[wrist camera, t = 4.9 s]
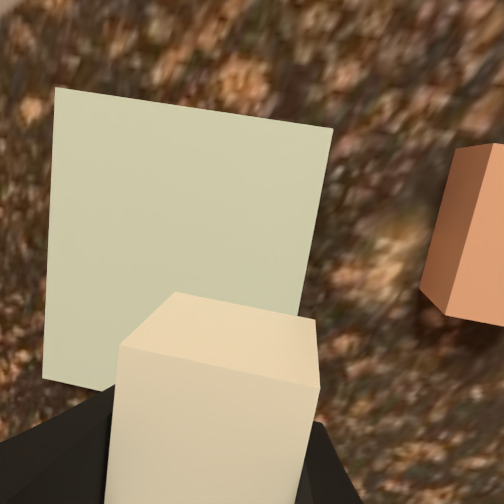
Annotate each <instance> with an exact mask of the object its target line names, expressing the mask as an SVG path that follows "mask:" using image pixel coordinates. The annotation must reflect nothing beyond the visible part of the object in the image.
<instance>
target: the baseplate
mask: <svg viewBox="0 0 504 504" xmlns="http://www.w3.org/2000/svg"><path fill="white" fill-rule="evenodd" d="M332 133H333V129H331V128H324V127H318V126H311V125H304V124H298V123H291V122H284V121H277V120H271V119H264V118H257V117H251V116H244V115H237V114H231V113H224V112H217V111H211V110H204V109H197V108H190V107H184V106H177V105H170V104H164V103H157V102H150V101H144V100H137V99H130V98H124V97H117V96H110V95H103V94H97V93H90V92H83V91H77V90H70V89H63V88H57V87H55V107H54V130H53V152H52V174H51V197H50V219H49V241H48V263H47V286H46V308H45V330H44V352H43V375H42V378H45V379H50V380H54V381H59V382H63V383H67V384H72V385H76V386H81V387H85V388H89V389H94V390H98V391H104V390H105V389H107V388H109V387H111V386H113V385H114V384H116V374H117V363H118V352H119V345H120V344H121V343H122V342H123V341H124V340H125V339H126V338H127V337H128V336H129V335H130V334H131V333H132V332H133V331H134V330H135V329H136V328H138V327H139V326H140V325H141V324H142V323H143V322H144V321H145V320H146V319H147V318H148V317H149V316H150V315H151V314H152V313H153V312H154V311H155V310H156V309H157V308H159V307H160V306H161V305H162V304H163V303H164V302H165V301H166V300H167V299H168V298H169V297H170V296H171V295H172V294H173V293H174V292H179V293H184V294H189V295H194V296H199V297H204V298H209V299H214V300H219V301H224V302H229V303H234V304H239V305H244V306H249V307H254V308H259V309H264V310H269V311H274V312H279V313H284V314H289V315H293V316H297V314H298V309H299V304H300V299H301V293H302V288H303V283H304V278H305V273H306V268H307V262H308V257H309V252H310V247H311V242H312V237H313V232H314V226H315V221H316V216H317V211H318V206H319V201H320V195H321V190H322V185H323V180H324V175H325V170H326V164H327V159H328V154H329V149H330V144H331V139H332Z"/></svg>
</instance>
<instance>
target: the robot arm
mask: <svg viewBox="0 0 504 504" xmlns="http://www.w3.org/2000/svg"><path fill="white" fill-rule="evenodd" d="M114 395H115V384H114V385H113V386H111V387H109V388H107V389H105V390H104V391H102V392H100V393H98V394H96V395H95V396H93V397H91V398H89V399H87V400H86V401H84V402H82V403H80V404H78V405H76V406H74V407H73V408H71V409H69V410H67V411H65V412H63V413H61V414H60V415H58V416H55V417H53V418H51V419H49V420H47V421H45V422H43V423H41V424H39V425H37V426H35V427H33V428H31V429H29V430H27V431H25V432H23V433H21V434H18V435H16V436H14V437H12V438H10V439H7V440H5V441H3V442H0V504H104V501H105V490H106V479H107V469H108V458H109V448H110V437H111V426H112V416H113V405H114ZM294 504H363V502H362V500H361V499H360V497H359V495H358V493H357V491H356V490H355V488H354V486H353V484H352V482H351V480H350V479H349V477H348V475H347V473H346V471H345V469H344V467H343V465H342V463H341V461H340V459H339V457H338V455H337V453H336V451H335V449H334V447H333V445H332V442H331V440H330V438H329V436H328V433H327V431H326V429H325V427H324V425H323V424H322V423H320V422H315V421H313V423H312V427H311V432H310V436H309V441H308V445H307V449H306V454H305V458H304V463H303V467H302V472H301V476H300V480H299V485H298V489H297V494H296V498H295V503H294Z"/></svg>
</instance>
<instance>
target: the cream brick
mask: <svg viewBox="0 0 504 504" xmlns="http://www.w3.org/2000/svg"><path fill="white" fill-rule="evenodd" d="M319 392H320V379H319V366H318V353H317V340H316V327H315V320H313V319H308V318H303V317H298V316H293V315H289V314H284V313H279V312H274V311H269V310H264V309H259V308H254V307H249V306H244V305H239V304H234V303H229V302H224V301H219V300H214V299H209V298H204V297H199V296H194V295H189V294H184V293H179V292H174V293H173V294H172V295H171V296H170V297H169V298H168V299H167V300H166V301H165V302H164V303H163V304H162V305H161V306H160V307H159V308H157V309H156V310H155V311H154V312H153V313H152V314H151V315H150V316H149V317H148V318H147V319H146V320H145V321H144V322H143V323H142V324H141V325H140V326H139V327H138V328H136V329H135V330H134V331H133V332H132V333H131V334H130V335H129V336H128V337H127V338H126V339H125V340H124V341H123V342H122V343H121V344H120V345H119V352H118V363H117V374H116V384H115V395H114V405H113V416H112V426H111V437H110V448H109V458H108V469H107V479H106V490H105V501H104V504H294V503H295V498H296V494H297V489H298V485H299V480H300V476H301V472H302V467H303V463H304V458H305V454H306V449H307V445H308V441H309V436H310V432H311V427H312V423H313V418H314V414H315V409H316V405H317V401H318V396H319Z"/></svg>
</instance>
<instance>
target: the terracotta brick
mask: <svg viewBox="0 0 504 504" xmlns="http://www.w3.org/2000/svg"><path fill="white" fill-rule="evenodd" d="M419 289H420V290H421V291H422V292H423V293H424V294H425V295H426V296H427V297H428V298H429V299H430V300H431V301H432V302H433V303H434V305H435V306H436V307H437V308H438V309H439V310H440V311H441V312H442V313H443V314H444V315H447V316H452V317H457V318H462V319H467V320H473V321H478V322H483V323H488V324H494V325H499V326H504V145H503V144H496V143H491V144H484V145H478V146H471V147H465V148H458V149H455V153H454V156H453V160H452V164H451V168H450V172H449V175H448V179H447V183H446V187H445V191H444V194H443V198H442V202H441V206H440V210H439V213H438V217H437V221H436V225H435V229H434V232H433V236H432V240H431V244H430V248H429V251H428V255H427V259H426V263H425V267H424V270H423V274H422V278H421V282H420V286H419Z"/></svg>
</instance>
